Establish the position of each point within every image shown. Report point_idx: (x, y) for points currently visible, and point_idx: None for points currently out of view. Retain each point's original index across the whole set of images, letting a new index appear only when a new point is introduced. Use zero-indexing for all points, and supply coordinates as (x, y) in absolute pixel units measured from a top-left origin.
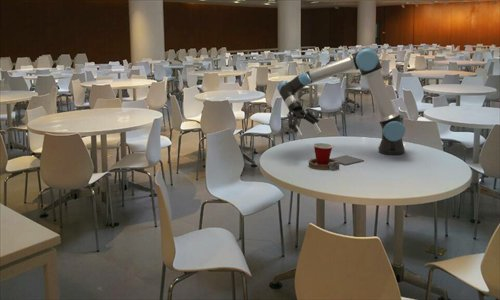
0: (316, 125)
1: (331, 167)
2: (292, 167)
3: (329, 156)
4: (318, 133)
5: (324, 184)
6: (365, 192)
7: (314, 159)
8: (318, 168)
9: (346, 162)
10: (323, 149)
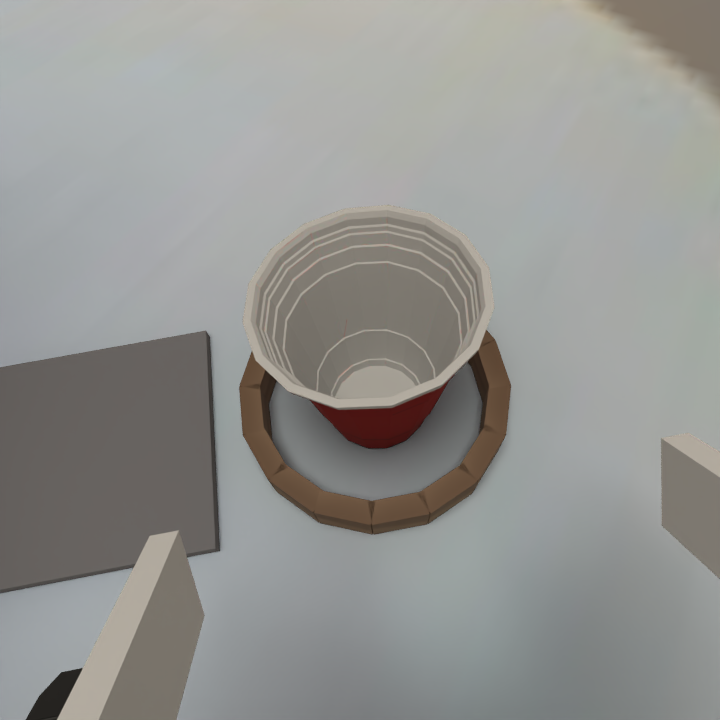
0: (115, 687)
1: None
2: None
3: (329, 315)
4: (195, 597)
5: (563, 90)
6: None
7: (406, 494)
8: None
9: (164, 366)
10: (414, 234)
